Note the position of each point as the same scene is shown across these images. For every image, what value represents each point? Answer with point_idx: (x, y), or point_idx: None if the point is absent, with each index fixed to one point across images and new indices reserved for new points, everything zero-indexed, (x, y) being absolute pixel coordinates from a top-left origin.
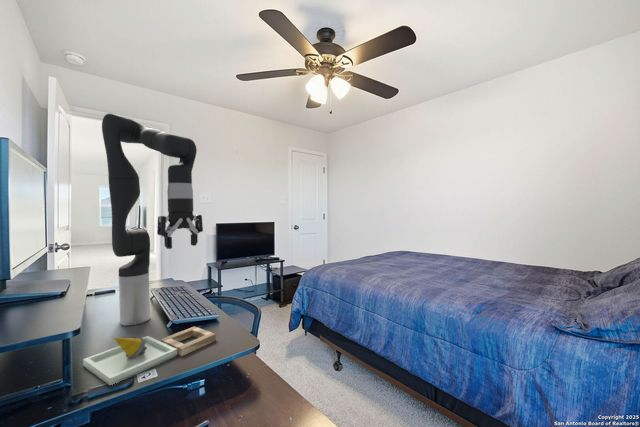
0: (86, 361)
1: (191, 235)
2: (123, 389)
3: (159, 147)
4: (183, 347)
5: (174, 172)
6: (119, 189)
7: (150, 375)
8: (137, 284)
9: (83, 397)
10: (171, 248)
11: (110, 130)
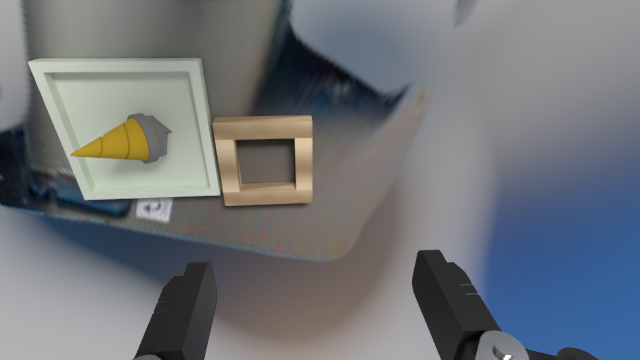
0: (37, 84)
1: (455, 331)
2: (111, 216)
3: None
4: (231, 202)
5: None
6: None
7: (158, 212)
8: None
9: (49, 189)
10: (215, 294)
11: None
